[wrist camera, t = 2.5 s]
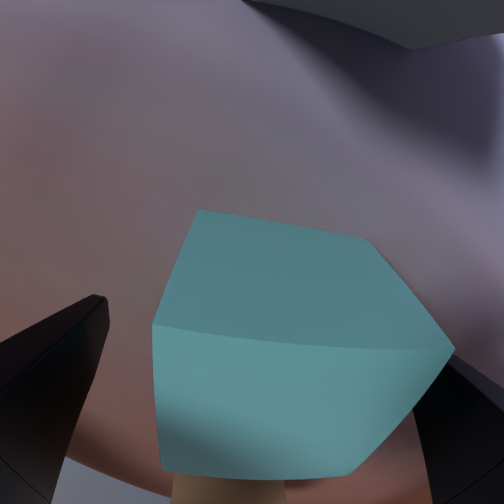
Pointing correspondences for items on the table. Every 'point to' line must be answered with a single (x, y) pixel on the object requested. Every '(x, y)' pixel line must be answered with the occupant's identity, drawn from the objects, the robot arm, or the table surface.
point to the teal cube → (284, 352)
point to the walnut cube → (225, 490)
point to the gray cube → (410, 18)
